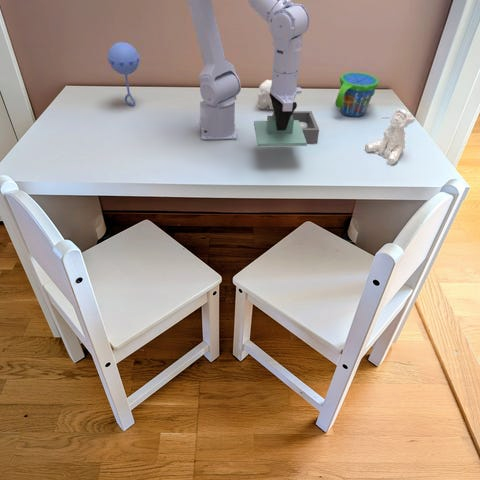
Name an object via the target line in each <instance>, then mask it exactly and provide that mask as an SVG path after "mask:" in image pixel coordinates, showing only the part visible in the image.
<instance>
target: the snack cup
mask: <svg viewBox="0 0 480 480" xmlns="http://www.w3.org/2000/svg"><path fill="white" fill-rule="evenodd" d="M339 82H340V88H339V91H338V93H337V97H336V99H335V103H334V104H335V106H336V108H338V109H339V110H340V112H341V113H342V114H343V115H344V116H349V117H357V118H358V117H360V116H364V114H365V113H366V112H367V109H368V107H369V105H370V102H371V100H372V97H373V96H374V95H375V92H376V88H377V87H378V86H379V80H378V78H377V77H375V76H374V75H372V74H368V73H364V72H346V73H343V74H342V75H341V76H340V77H339Z"/></svg>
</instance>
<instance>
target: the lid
mask: <svg viewBox="0 0 480 480" xmlns="http://www.w3.org/2000/svg"><path fill="white" fill-rule="evenodd" d="M253 125H254V131H255V137H256V144H257V147H258V148H262V147H263V148H264V147H269V148H270V147H306V146H307V142H306V139H305V136H304V134H303V131H302V128H301V125H300V122H299V120H294V119H293V116H292V115H291V117H290V120H289V123H288V126H287V128H286V130H282V131H278V130H277V127H276V117H275V116H272V115H267V117H266V120H253Z"/></svg>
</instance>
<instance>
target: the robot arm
mask: <svg viewBox="0 0 480 480" xmlns="http://www.w3.org/2000/svg"><path fill="white" fill-rule="evenodd" d="M247 1H248V4H249V6H250V7H252V9H253V10H254V11H255V12H256V13H257V14H258V15H259V16H260V17H261V18H262V19H263V20H264V21H265V22H266V23H267V24H268V26H269V31H270V34H271V36H272V39H273V41H272V45H273V55H272V56H273V57H272V73H271V80H272V84H271V88H270V94H269V95H270V98H271V100H272V102H271V103H272V106H273V109H274V110H273V111H274V116H275V117H276V127H277V130H278V131H282V130H286V128H287V126H288V123H289V120H290V117H291V115H292V113H293V112H294V111H296V110H297V108H298V104H297V102H296V101H295V98H296V96H297V95H298V94H299V95H300V94H302V91H303V90H302V87H300V86H298V81H299V80H298V79H299V73H300V72H299V70H300V63H301V53H302V43H303V35H304V34H305V33H306V32H307V30H308V29H309V27H310V15H309V12H308V10H307V8H305V6H304V5H303V4H300V3H293V2H292V0H247ZM186 2H187V5H188V10H189V12H190V16H191V20H192V24H193V27H194V32H195V34H196V38H197V41H198V42H197V43H198V46H199V50H200V54H201V59H202V60H203V68H202V70H201V72H200V74H199V76H198V79H199V84H200V88H199V90H200V91H199V92H200V96H201V98H202V100H203V101H199V118H200V122H199V129H200V137H201V140H204V141H205V140H206V141H207V140H212V141H213V140H214V141H215V140H237V138H238V137H237V128H236V123H235V118H236V117H235V109H236V107H235V104H236V102H235V101H236V100H237V96H238V95H239V94H240V92H241V89H242V83H241V80H240V78H239V76H238V74H237V73H236V69H235V66H234V64H232V63H231V62H230V61H228V60H227V59H226V55H225V52H224V47H223V43H222V39H221V34H220V31H219V26H218V22H217V18H216V14H215V11H214V6H213V2H212V0H186Z"/></svg>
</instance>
